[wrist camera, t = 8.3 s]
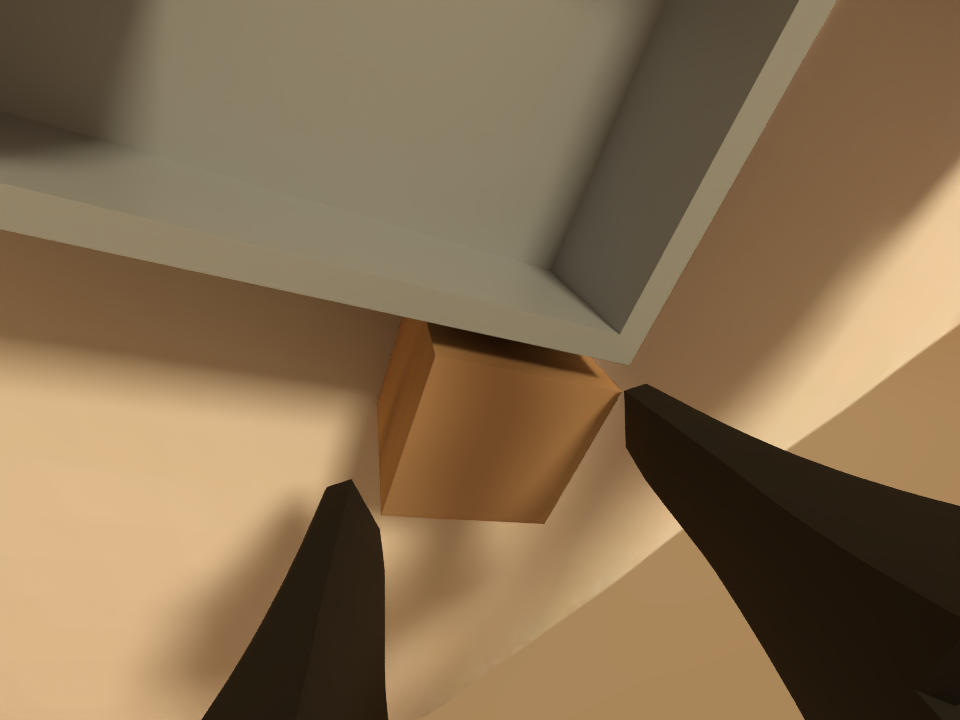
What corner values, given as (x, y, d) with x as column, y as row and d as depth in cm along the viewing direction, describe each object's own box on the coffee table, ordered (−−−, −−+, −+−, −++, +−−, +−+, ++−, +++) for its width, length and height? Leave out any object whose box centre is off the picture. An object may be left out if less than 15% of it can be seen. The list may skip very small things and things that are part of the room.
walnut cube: (551, 310, 15) (621, 391, 11) (501, 421, 17) (544, 523, 13) (413, 275, 13) (435, 355, 9) (377, 403, 15) (380, 515, 11)
